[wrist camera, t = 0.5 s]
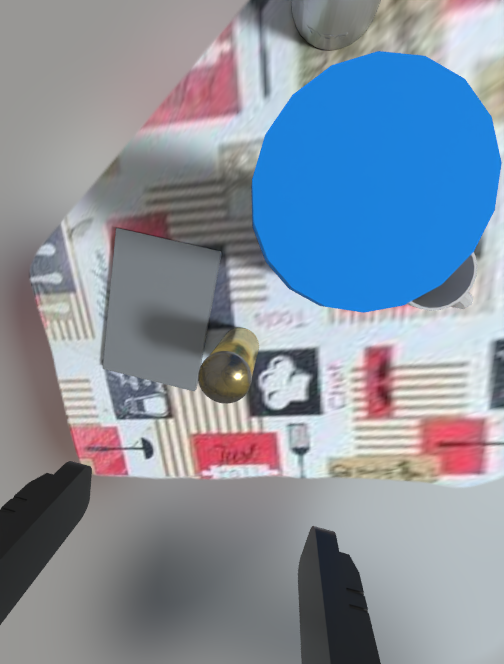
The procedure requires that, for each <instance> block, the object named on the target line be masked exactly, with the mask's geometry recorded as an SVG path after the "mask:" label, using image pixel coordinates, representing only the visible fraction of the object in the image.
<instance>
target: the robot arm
mask: <svg viewBox="0 0 504 664" xmlns="http://www.w3.org/2000/svg"><path fill="white" fill-rule="evenodd" d="M380 1H381V0H292V14H293V19H294V22H295V25H296V27H297V29H298V31H299V32H300V34H301V36H302V37H303V38H304V39H305V40H306V41H307V42H308V43H310V44H312V45H313V46H315V47H317V48H320V49H324V50H335V49H341V48H343V47H346V46H348V45H350V44H352V43H353V42H354V41H356V40H357V39H359V38H360V37H361V35H362V34H363V33H364V32H365V31H366V30H367V29H368V27H369V25H370V24H371V22H372V21H373V18H374V16H375V14H376V12H377V9H378V6H379V4H380ZM91 474H92V468H91V467H90V466H87V465H83V464H80V463H76V462H72V461H69V462H67V463H65V464H64V465H63V466H62V467H61V468H60V469H59V470H58V471H57V472H56V473H55V474H54V475H53V474H49V473H46V474H44V475H42V476H40V477H39V478H37V479H35V480H33V481H31V482H29V483H28V484H27V485H26V486H25V487H24V488H22V489H21V490H20V491H19V492H18V493H17V494H16V495H15V496H14V498H13V499H10V500H9V501H8V502H7V503H6V504H5V505H4V506H2V508H1V510H0V625H1V623H2V622H3V621H4V619H5V618H6V617H7V615H8V614H9V613H10V611H11V610H12V609H13V607H14V606H15V605H16V603H17V602H18V601H19V600H20V598H21V597H22V596H23V594H24V593H25V592H26V590H27V589H28V588H29V586H30V585H31V584H32V583H33V581H34V580H35V579H36V577H37V576H38V575H39V573H40V572H41V571H42V569H43V568H44V567H45V566H46V564H47V563H48V562H49V560H50V559H51V558H52V556H53V555H54V554H55V552H56V551H57V550H58V549H59V547H60V546H61V544H62V543H63V542H64V541H65V539H66V538H67V537H68V535H69V534H70V533H71V532H72V530H73V529H74V528H75V526H76V525H77V524H78V522H79V521H80V520H81V518H82V517H83V515H84V513H85V511H86V509H87V507H88V504H89V500H90V487H91ZM298 590H299V612H300V635H301V658H302V664H381V663H380V659H379V654H378V650H377V646H376V642H375V638H374V634H373V629H372V625H371V621H370V617H369V613H368V611H367V610H368V608H367V604H366V600H365V596H364V594H363V592H364V591H363V587H362V583H361V579H360V575H359V572H358V570H357V568H356V566H355V564H354V563H353V561H352V559H351V557H350V555H349V554H345V553H341V552H339V548H338V543H337V538H336V534H335V532H333V531H329V530H326V529H322V528H318V527H315V526H312V528H311V529H310V532H309V535H308V537H307V540H306V543H305V546H304V549H303V552H302V555H301V558H300V562H299V569H298Z"/></svg>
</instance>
